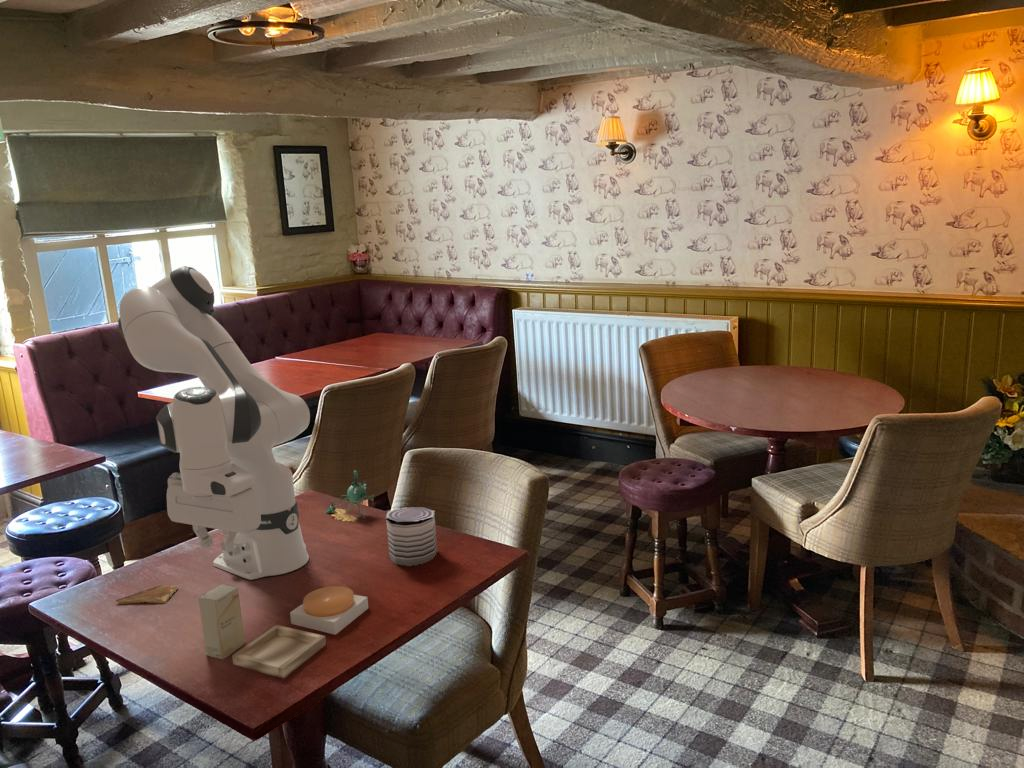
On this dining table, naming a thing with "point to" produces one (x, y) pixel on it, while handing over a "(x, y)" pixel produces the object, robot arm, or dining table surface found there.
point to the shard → (150, 595)
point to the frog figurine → (354, 495)
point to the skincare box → (221, 621)
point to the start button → (328, 601)
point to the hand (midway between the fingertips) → (217, 548)
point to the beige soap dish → (279, 651)
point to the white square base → (329, 617)
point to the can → (411, 535)
